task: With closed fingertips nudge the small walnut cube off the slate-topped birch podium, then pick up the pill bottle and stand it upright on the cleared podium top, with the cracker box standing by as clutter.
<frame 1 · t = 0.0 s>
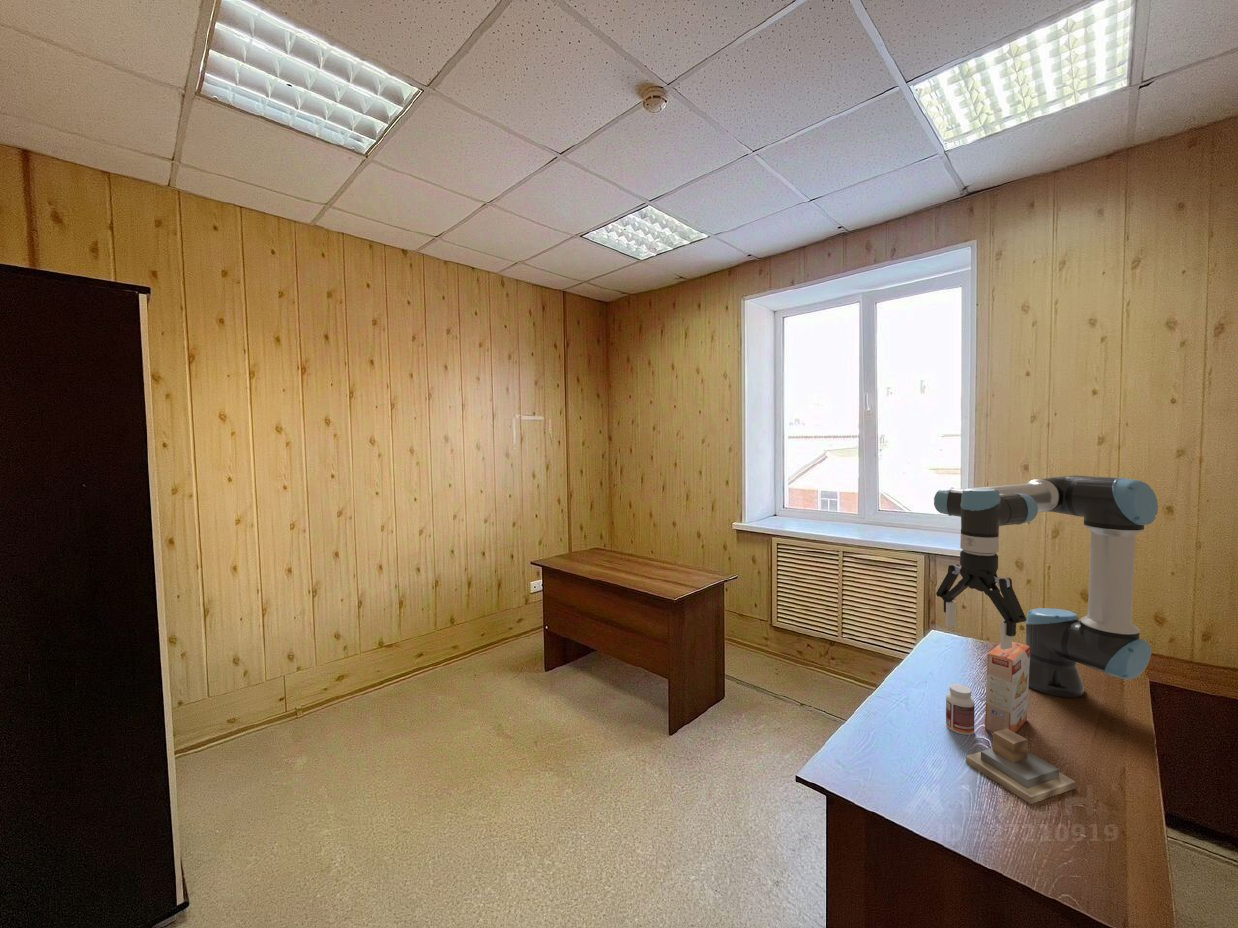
hand: (977, 636, 120), 28 cm above the table, fingers open, 13 cm apart
cracker box: (1006, 725, 130), on the table
walnut cube: (1009, 754, 113), point 3 cm above the table, touching podium
podium: (1018, 774, 112), on the table
pill bottle: (959, 729, 129), on the table
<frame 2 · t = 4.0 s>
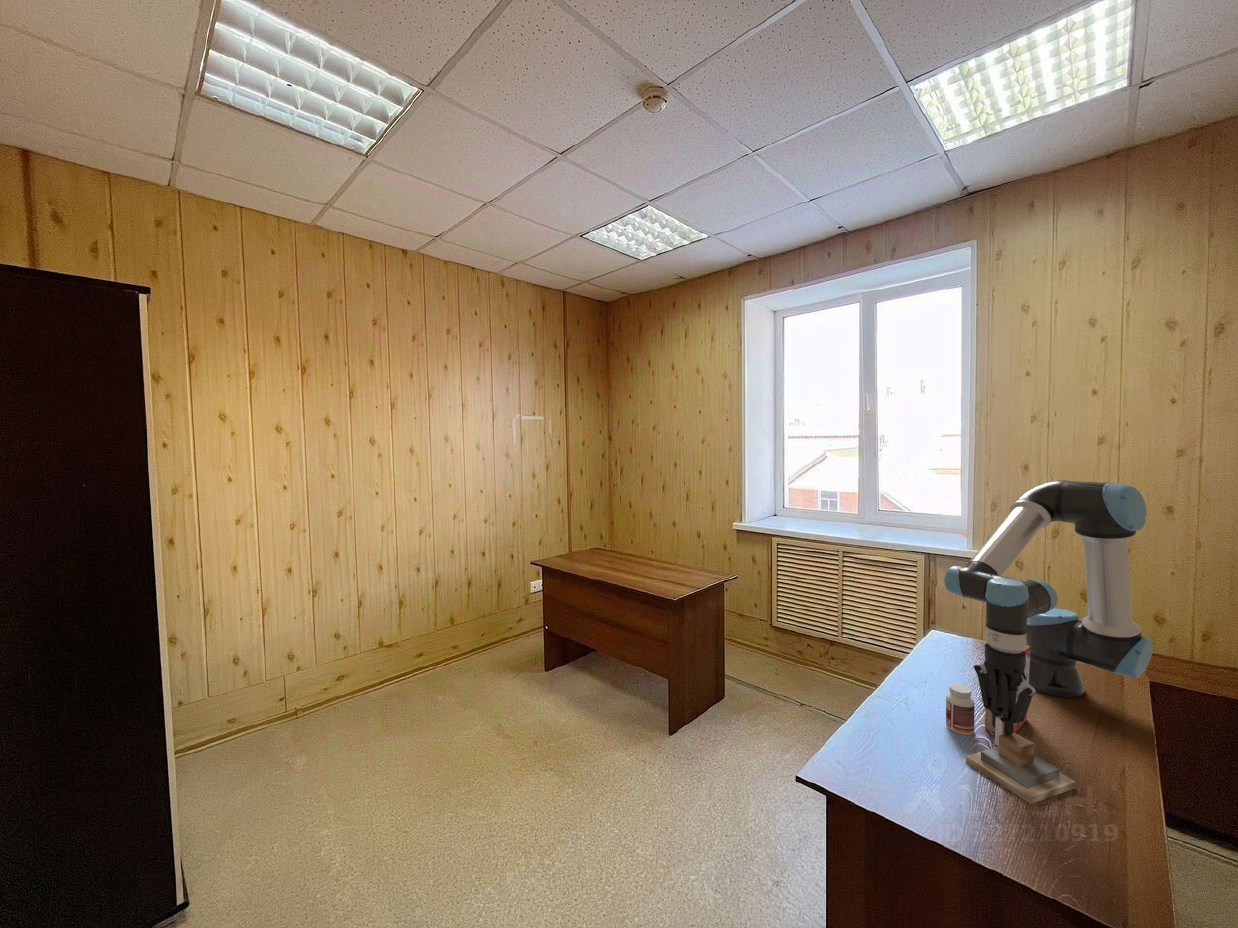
hand: (1002, 744, 115), 5 cm above the table, fingers closed
walnut cube: (1015, 758, 112), point 4 cm above the table, touching gripper
everything else where it was.
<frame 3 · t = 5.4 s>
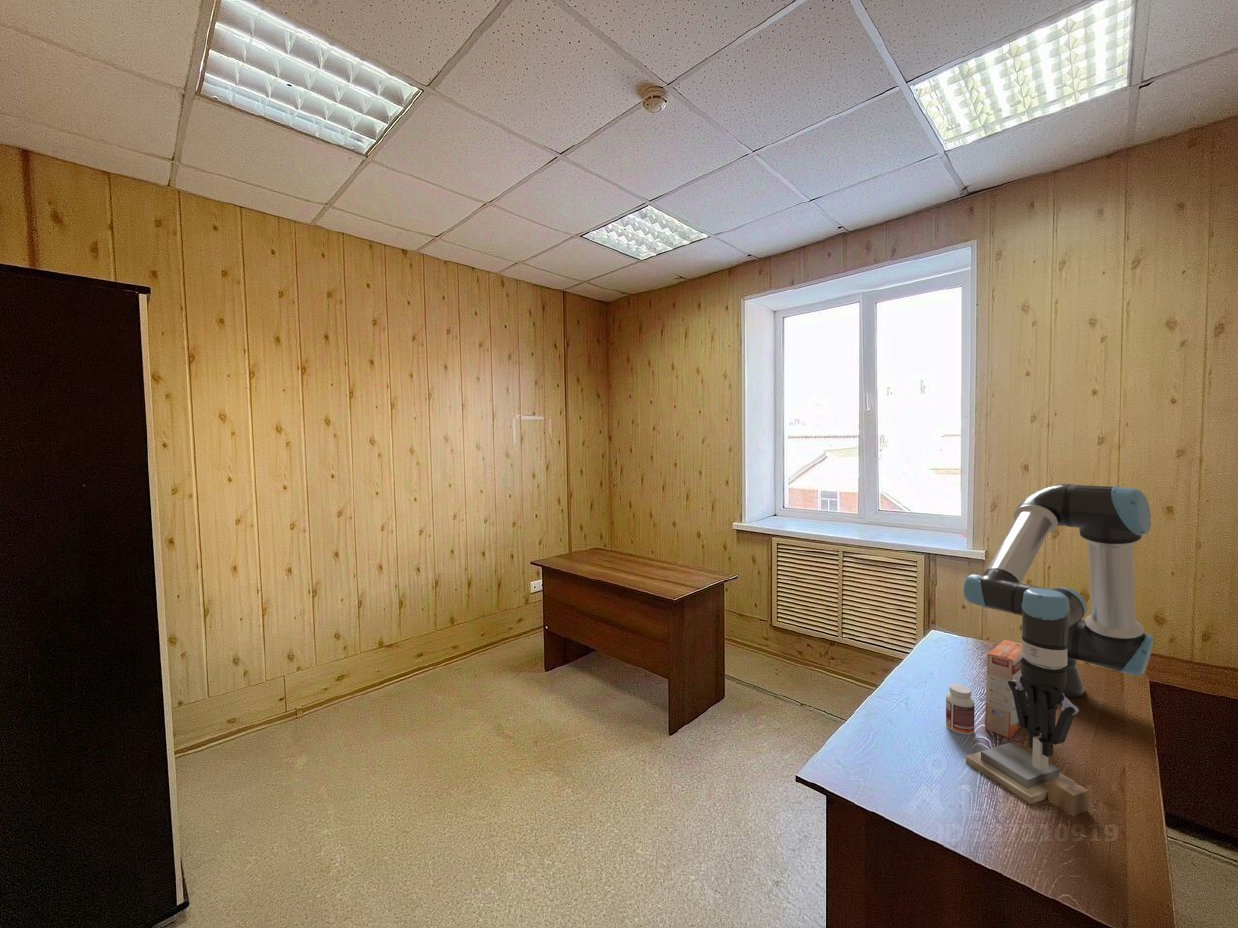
hand: (1040, 765, 107), 5 cm above the table, fingers closed
walnut cube: (1055, 788, 104), point 2 cm above the table, tilted 90°
everything else where it was.
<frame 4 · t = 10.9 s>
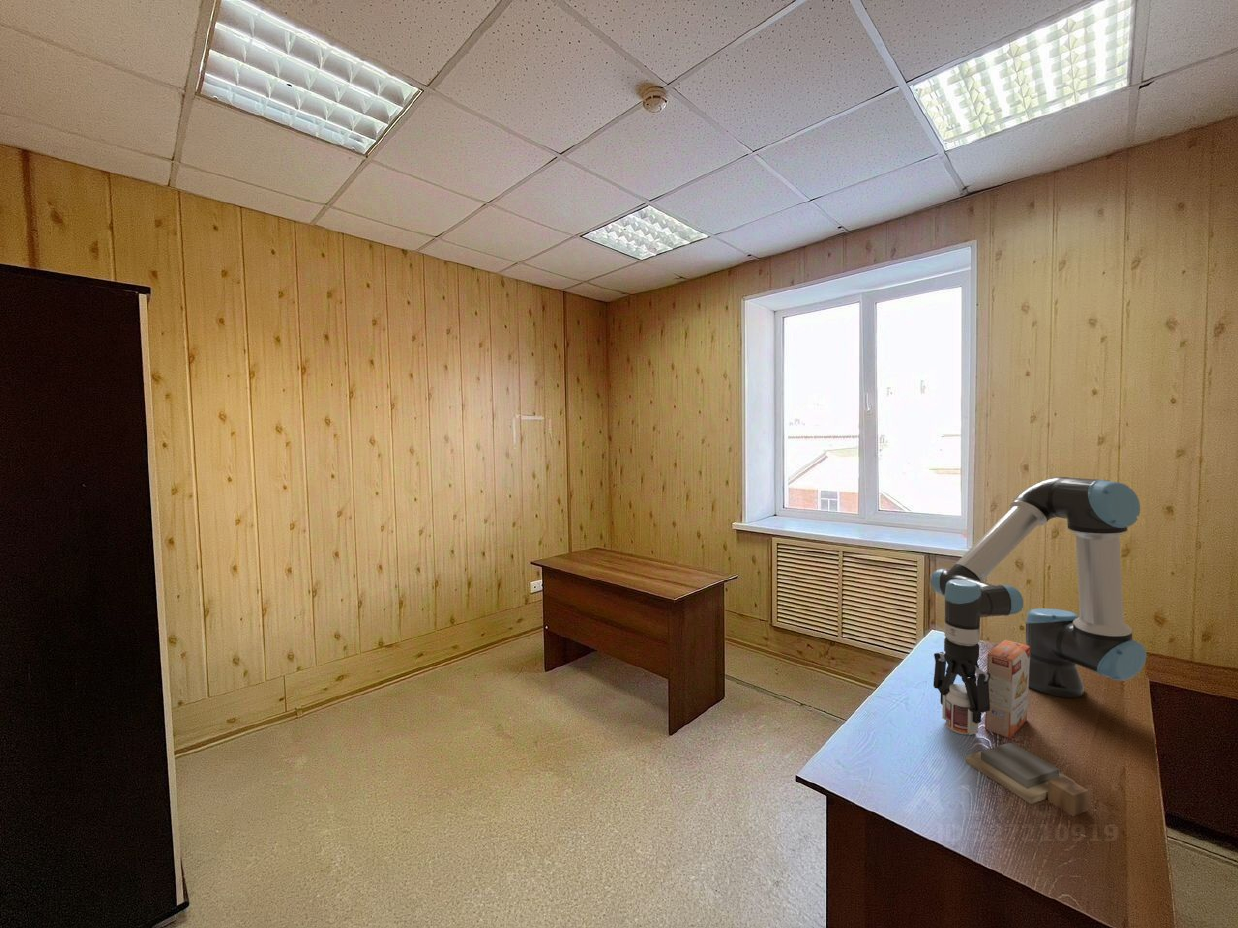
hand: (959, 725, 129), 1 cm above the table, fingers closed on pill bottle, 6 cm apart
pill bottle: (959, 729, 129), on the table, touching gripper
everything else where it was.
when the fingers open (6 cm above the table, at t = 16.1 s): pill bottle drops 1 cm, resting on podium.
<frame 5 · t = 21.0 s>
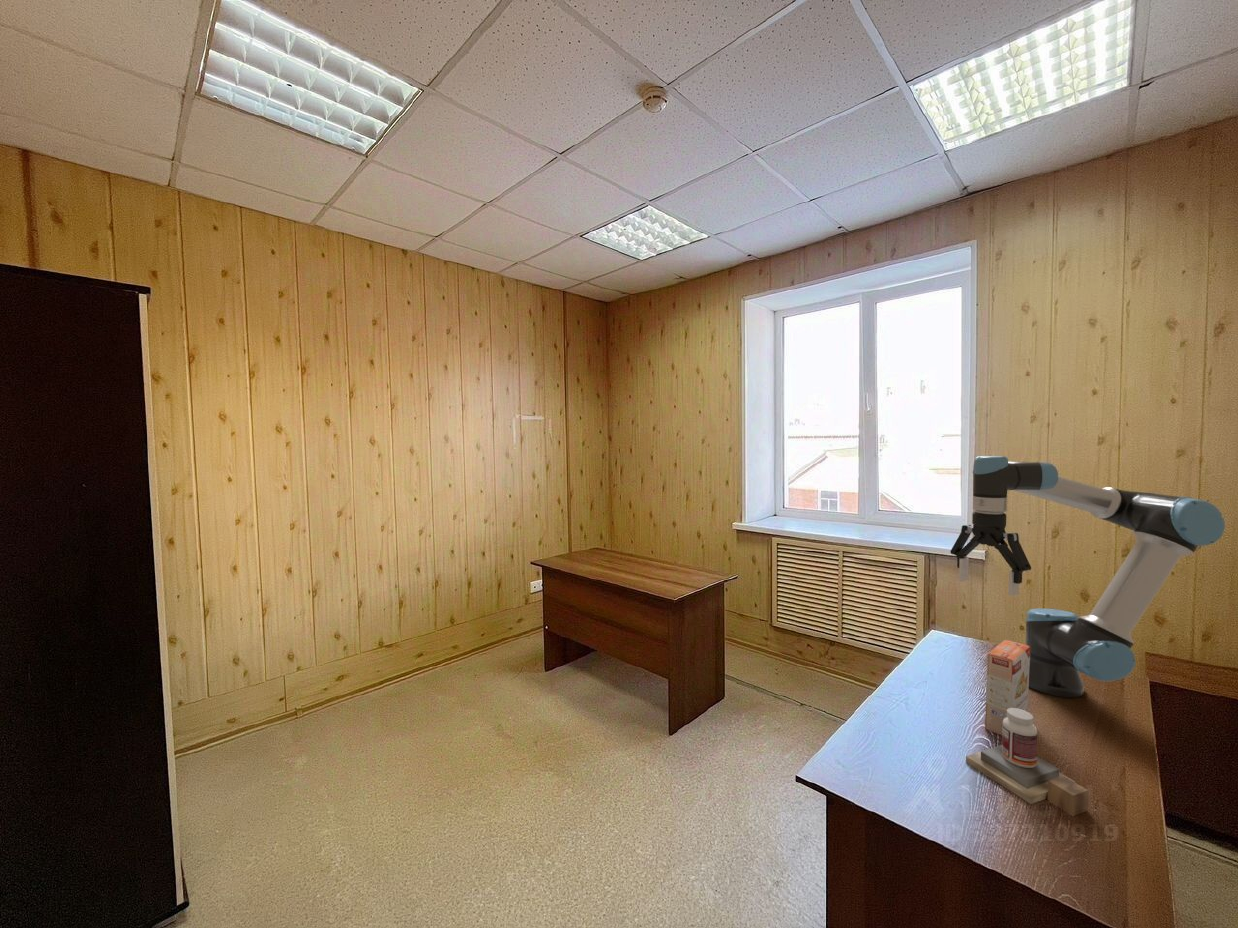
hand: (987, 587, 136), 35 cm above the table, fingers open, 13 cm apart
pill bottle: (1018, 760, 111), point 3 cm above the table, touching podium
everything else where it was.
at the end: pill bottle inside the target area (0.0 cm from its centre), point 3.3 cm above the table; pill bottle tilted 0°; the gripper is holding nothing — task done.
